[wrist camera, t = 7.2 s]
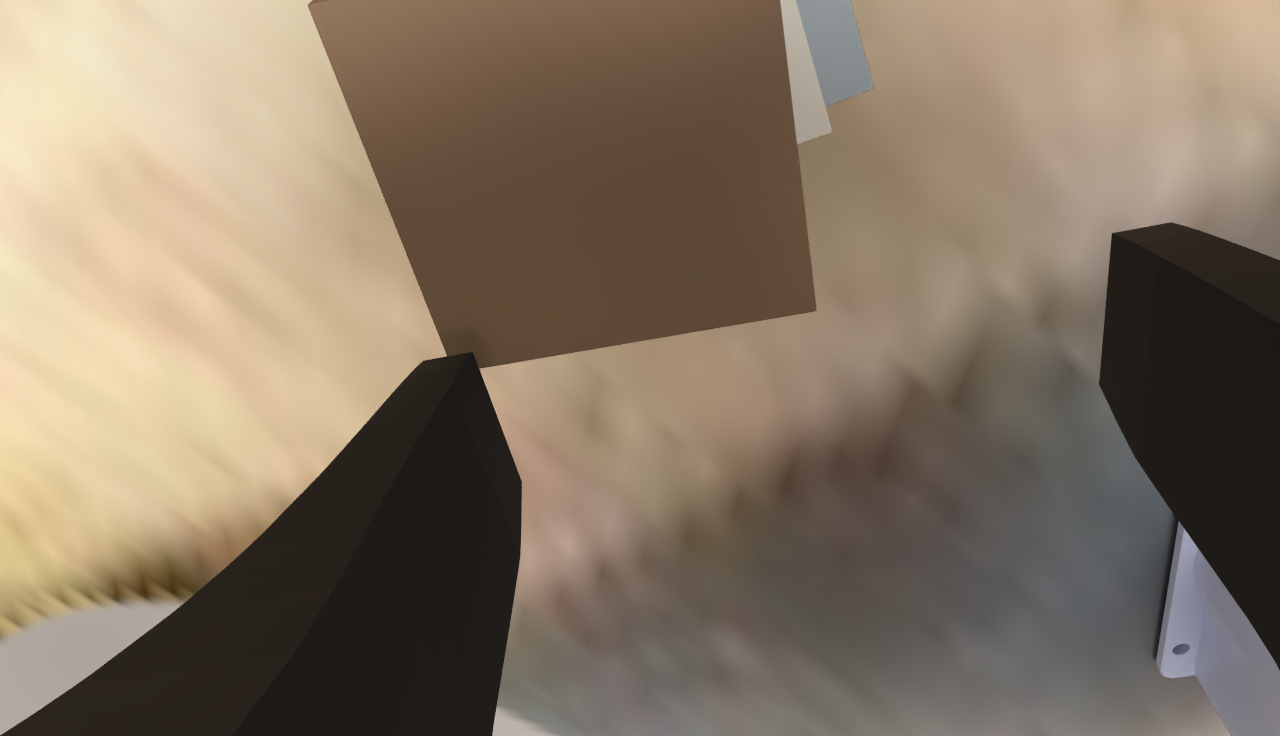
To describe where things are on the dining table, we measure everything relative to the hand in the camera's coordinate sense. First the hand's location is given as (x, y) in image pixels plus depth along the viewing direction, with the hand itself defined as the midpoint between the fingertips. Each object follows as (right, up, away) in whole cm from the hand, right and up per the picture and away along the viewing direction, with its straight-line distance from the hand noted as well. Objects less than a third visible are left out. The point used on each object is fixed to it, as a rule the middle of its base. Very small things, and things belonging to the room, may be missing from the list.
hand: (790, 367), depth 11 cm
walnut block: (-2, +5, +3) cm, 6 cm away
